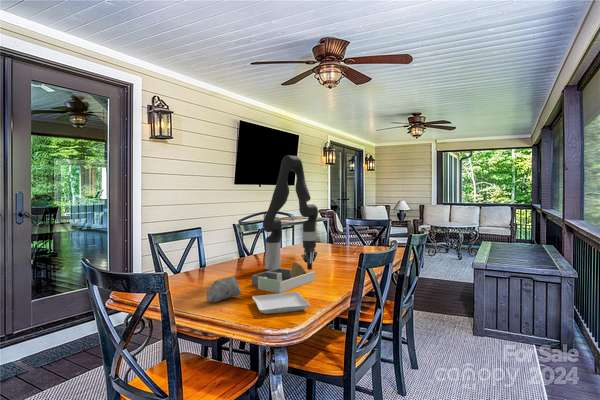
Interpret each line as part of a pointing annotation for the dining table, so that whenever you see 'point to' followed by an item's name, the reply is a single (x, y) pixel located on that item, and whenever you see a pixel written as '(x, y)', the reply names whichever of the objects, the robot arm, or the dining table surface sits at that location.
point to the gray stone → (223, 289)
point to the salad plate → (280, 302)
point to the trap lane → (280, 280)
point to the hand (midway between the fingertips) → (309, 269)
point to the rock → (297, 270)
